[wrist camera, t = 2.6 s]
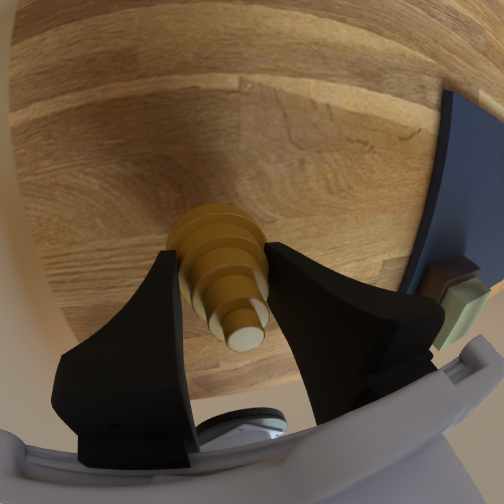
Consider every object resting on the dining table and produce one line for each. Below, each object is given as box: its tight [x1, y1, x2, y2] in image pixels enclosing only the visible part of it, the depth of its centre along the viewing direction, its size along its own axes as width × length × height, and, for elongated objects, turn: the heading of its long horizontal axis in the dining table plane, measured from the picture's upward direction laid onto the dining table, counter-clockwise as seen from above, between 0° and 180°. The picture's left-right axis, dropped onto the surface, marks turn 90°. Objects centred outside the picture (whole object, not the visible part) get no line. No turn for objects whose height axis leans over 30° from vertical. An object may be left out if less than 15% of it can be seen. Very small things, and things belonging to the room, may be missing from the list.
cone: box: [166, 203, 270, 352], centre depth 10 cm, size 4×4×6 cm
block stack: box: [415, 256, 492, 351], centre depth 21 cm, size 7×7×5 cm
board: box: [399, 90, 504, 295], centre depth 22 cm, size 30×22×1 cm
